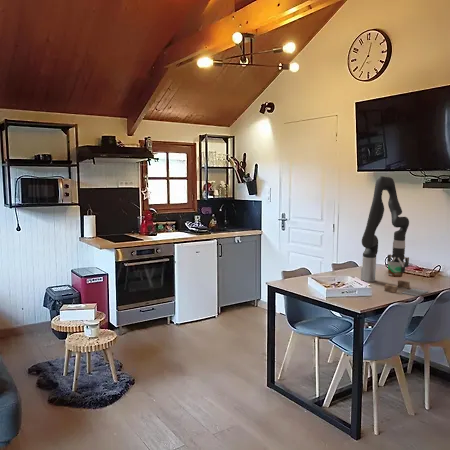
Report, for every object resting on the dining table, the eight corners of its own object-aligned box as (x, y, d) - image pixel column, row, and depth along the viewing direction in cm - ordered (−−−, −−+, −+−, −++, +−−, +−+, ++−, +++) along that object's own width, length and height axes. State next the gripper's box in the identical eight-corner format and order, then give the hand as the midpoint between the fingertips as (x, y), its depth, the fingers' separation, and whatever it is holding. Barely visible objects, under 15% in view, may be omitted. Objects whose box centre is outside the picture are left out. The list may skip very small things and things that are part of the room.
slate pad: (401, 293, 292) (401, 292, 292) (412, 289, 303) (412, 288, 303) (417, 296, 285) (417, 295, 285) (428, 292, 296) (428, 291, 296)
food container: (392, 278, 297) (393, 262, 296) (386, 275, 303) (387, 261, 302) (408, 277, 300) (409, 262, 299) (402, 275, 306) (403, 260, 305)
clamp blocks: (384, 290, 298) (384, 284, 298) (399, 285, 313) (399, 280, 312) (394, 293, 293) (394, 286, 293) (409, 287, 308) (409, 281, 307)
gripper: (385, 246, 302) (384, 270, 304) (406, 249, 292) (405, 274, 294) (391, 244, 307) (389, 268, 309) (412, 247, 297) (410, 272, 299)
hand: (397, 271), depth 302 cm, fingers closed on food container, 7 cm apart
